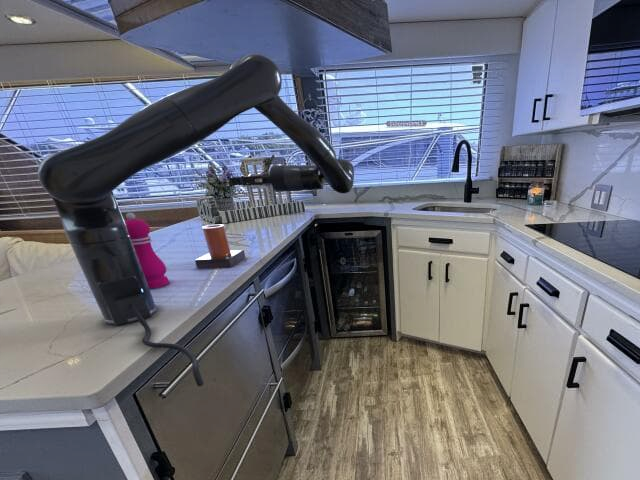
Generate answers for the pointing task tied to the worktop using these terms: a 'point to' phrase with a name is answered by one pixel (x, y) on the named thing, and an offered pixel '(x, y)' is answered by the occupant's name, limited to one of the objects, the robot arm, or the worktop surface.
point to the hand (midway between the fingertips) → (236, 180)
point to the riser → (220, 260)
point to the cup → (216, 240)
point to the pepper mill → (146, 252)
